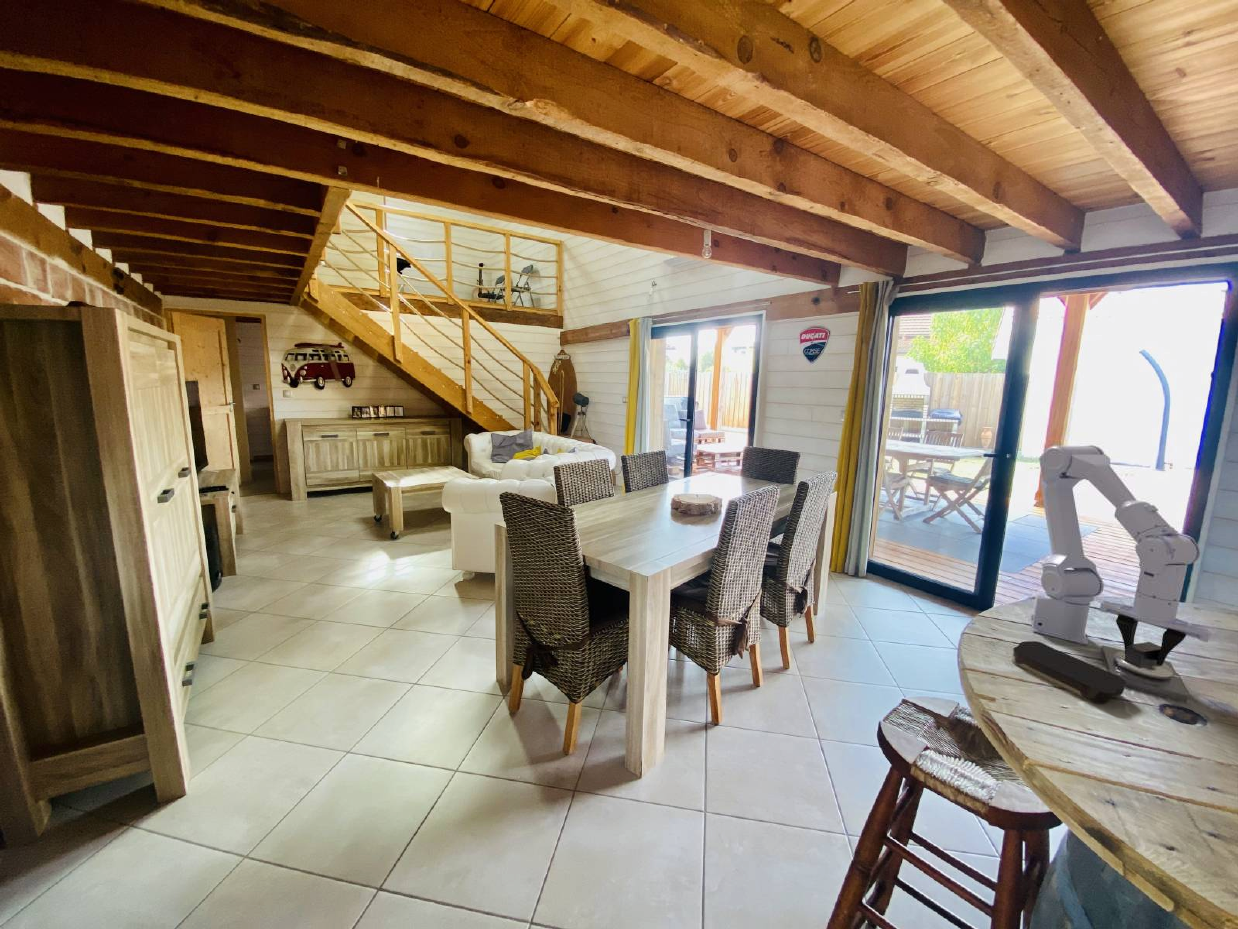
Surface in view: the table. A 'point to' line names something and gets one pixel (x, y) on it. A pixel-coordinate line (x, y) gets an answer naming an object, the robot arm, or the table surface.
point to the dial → (1143, 660)
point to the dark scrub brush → (1068, 671)
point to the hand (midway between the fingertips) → (1143, 658)
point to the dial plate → (1146, 678)
